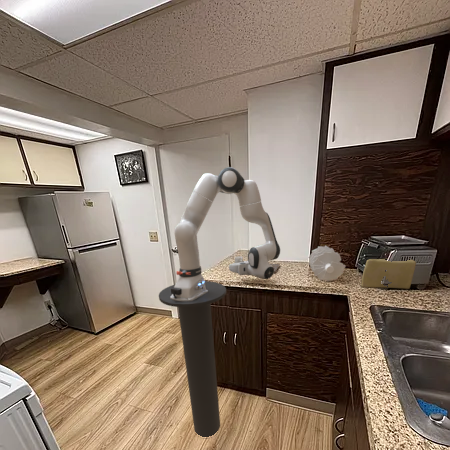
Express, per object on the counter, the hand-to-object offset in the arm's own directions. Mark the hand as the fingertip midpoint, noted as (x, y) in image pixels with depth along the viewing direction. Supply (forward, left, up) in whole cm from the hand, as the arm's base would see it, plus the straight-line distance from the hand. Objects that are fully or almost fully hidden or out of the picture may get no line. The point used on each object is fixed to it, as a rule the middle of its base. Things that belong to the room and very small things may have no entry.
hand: (238, 263), depth 154 cm
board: (+29, -10, -11) cm, 32 cm away
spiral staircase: (+17, -51, -11) cm, 55 cm away
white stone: (-1, -1, -5) cm, 5 cm away
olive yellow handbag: (+4, -81, -11) cm, 82 cm away
